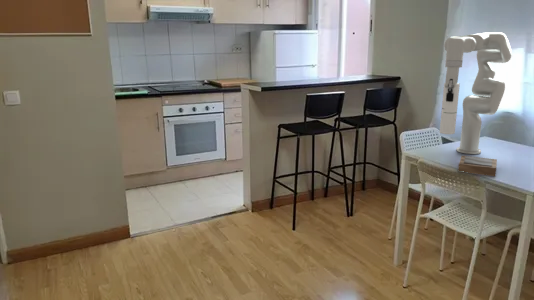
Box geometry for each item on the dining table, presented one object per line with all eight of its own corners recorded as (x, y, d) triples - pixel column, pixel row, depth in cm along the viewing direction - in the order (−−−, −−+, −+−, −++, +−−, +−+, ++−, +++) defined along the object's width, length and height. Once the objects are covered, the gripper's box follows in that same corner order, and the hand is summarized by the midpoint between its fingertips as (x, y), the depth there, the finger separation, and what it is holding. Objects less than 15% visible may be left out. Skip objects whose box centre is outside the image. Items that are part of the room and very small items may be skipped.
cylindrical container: (448, 130, 217) (453, 82, 210) (457, 133, 210) (463, 84, 203) (436, 131, 215) (441, 83, 208) (445, 134, 208) (450, 84, 202)
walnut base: (460, 162, 215) (461, 154, 214) (495, 167, 208) (497, 158, 207) (457, 171, 202) (458, 163, 200) (495, 176, 194) (496, 167, 193)
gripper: (447, 62, 212) (444, 97, 217) (443, 65, 197) (439, 102, 202) (463, 62, 209) (460, 97, 213) (460, 65, 194) (456, 103, 199)
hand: (450, 99), depth 208 cm, fingers closed on cylindrical container, 7 cm apart
